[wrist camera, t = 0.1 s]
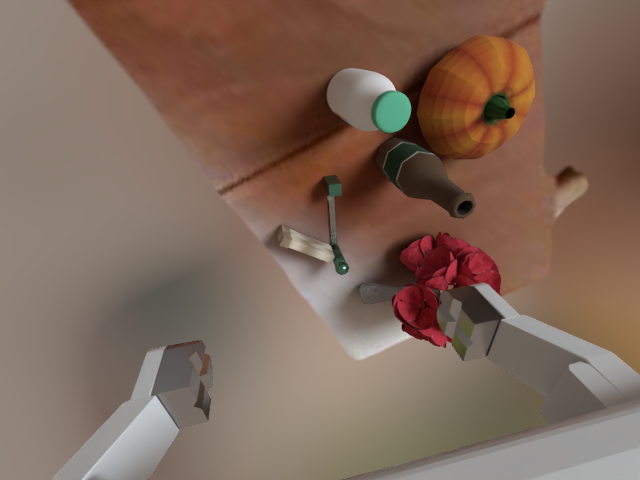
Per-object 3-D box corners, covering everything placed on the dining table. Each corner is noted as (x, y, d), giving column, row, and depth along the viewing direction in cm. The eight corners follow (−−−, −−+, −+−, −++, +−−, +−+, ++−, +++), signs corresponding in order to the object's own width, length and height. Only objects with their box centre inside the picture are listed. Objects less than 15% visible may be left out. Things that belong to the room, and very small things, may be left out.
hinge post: (327, 245, 67) (336, 267, 60) (339, 243, 67) (350, 265, 60) (328, 255, 69) (337, 278, 61) (340, 253, 69) (350, 276, 62)
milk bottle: (316, 96, 50) (348, 118, 34) (347, 56, 48) (397, 58, 31) (348, 126, 54) (390, 159, 37) (377, 90, 52) (437, 108, 35)
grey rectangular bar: (331, 244, 67) (336, 257, 62) (326, 251, 67) (331, 264, 63) (281, 224, 61) (283, 237, 57) (277, 232, 62) (279, 245, 58)
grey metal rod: (327, 188, 60) (328, 189, 59) (333, 187, 60) (333, 188, 60) (331, 244, 67) (331, 245, 67) (336, 243, 67) (336, 244, 67)
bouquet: (384, 289, 88) (501, 281, 73) (370, 363, 71) (518, 372, 56) (358, 234, 77) (488, 210, 62) (333, 306, 60) (504, 297, 45)
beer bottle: (372, 141, 56) (438, 189, 36) (411, 130, 57) (496, 173, 37) (376, 178, 61) (436, 240, 41) (411, 169, 61) (489, 225, 41)
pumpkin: (514, 111, 59) (584, 127, 46) (430, 169, 62) (474, 199, 50) (490, 9, 49) (572, -6, 36) (390, 85, 52) (435, 95, 39)
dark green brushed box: (322, 176, 58) (327, 185, 54) (335, 175, 58) (341, 183, 55) (323, 192, 60) (328, 201, 56) (336, 190, 60) (341, 199, 57)
